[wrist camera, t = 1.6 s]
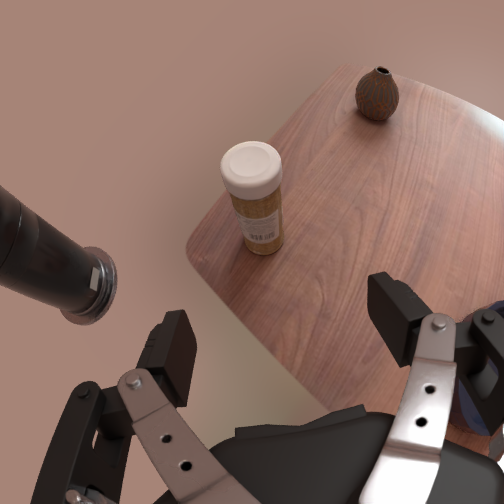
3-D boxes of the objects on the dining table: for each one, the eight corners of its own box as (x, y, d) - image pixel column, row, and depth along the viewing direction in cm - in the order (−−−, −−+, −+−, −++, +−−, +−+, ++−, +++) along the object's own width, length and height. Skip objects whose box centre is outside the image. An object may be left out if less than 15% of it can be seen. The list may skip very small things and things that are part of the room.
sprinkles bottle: (287, 224, 32) (286, 142, 20) (279, 260, 31) (274, 190, 18) (249, 217, 33) (228, 136, 21) (239, 252, 32) (210, 181, 19)
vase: (351, 97, 40) (357, 55, 32) (389, 104, 39) (399, 64, 31) (354, 122, 38) (363, 77, 30) (396, 129, 37) (410, 87, 28)
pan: (419, 424, 22) (438, 432, 18) (453, 294, 27) (474, 284, 23) (502, 432, 18) (522, 435, 14) (526, 322, 23) (546, 315, 19)
